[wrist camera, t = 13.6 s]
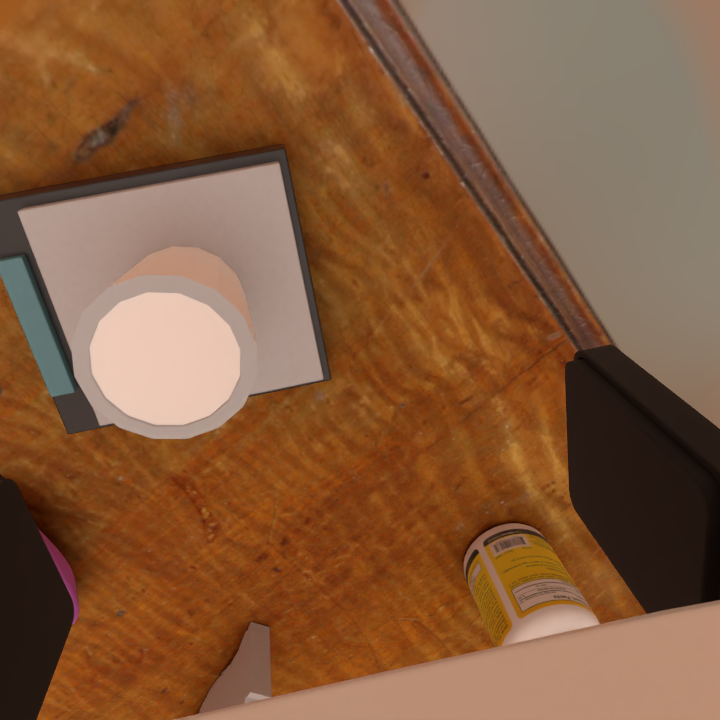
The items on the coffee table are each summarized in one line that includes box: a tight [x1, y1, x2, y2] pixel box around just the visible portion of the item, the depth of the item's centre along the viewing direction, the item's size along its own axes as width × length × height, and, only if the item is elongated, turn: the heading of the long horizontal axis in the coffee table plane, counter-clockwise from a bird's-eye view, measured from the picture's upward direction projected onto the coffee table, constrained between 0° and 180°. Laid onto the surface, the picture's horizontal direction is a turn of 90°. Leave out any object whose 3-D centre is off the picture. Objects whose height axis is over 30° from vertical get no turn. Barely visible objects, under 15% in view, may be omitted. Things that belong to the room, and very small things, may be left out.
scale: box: [0, 144, 331, 434], centre depth 32 cm, size 14×12×3 cm
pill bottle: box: [464, 523, 600, 647], centre depth 39 cm, size 6×6×11 cm
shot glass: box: [71, 246, 257, 439], centre depth 27 cm, size 7×7×7 cm
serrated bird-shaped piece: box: [198, 622, 271, 714], centre depth 42 cm, size 6×1×10 cm
